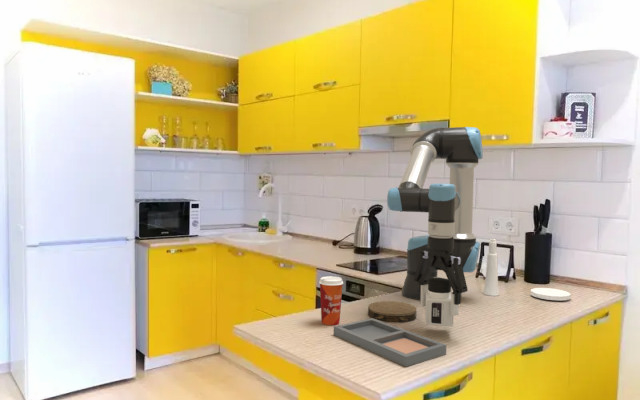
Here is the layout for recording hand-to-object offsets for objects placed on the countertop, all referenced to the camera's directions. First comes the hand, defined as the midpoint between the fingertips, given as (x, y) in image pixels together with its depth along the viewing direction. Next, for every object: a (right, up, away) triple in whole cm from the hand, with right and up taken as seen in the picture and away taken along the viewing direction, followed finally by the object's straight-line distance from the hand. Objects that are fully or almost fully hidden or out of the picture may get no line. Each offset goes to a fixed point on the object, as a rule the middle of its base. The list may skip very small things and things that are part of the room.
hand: (438, 310), depth 143 cm
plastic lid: (+54, -6, +45) cm, 71 cm away
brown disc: (-11, -6, +18) cm, 22 cm away
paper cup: (-32, -6, +9) cm, 34 cm away
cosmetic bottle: (+33, -5, +49) cm, 60 cm away
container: (0, -4, 0) cm, 4 cm away
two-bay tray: (-17, -7, -10) cm, 21 cm away
